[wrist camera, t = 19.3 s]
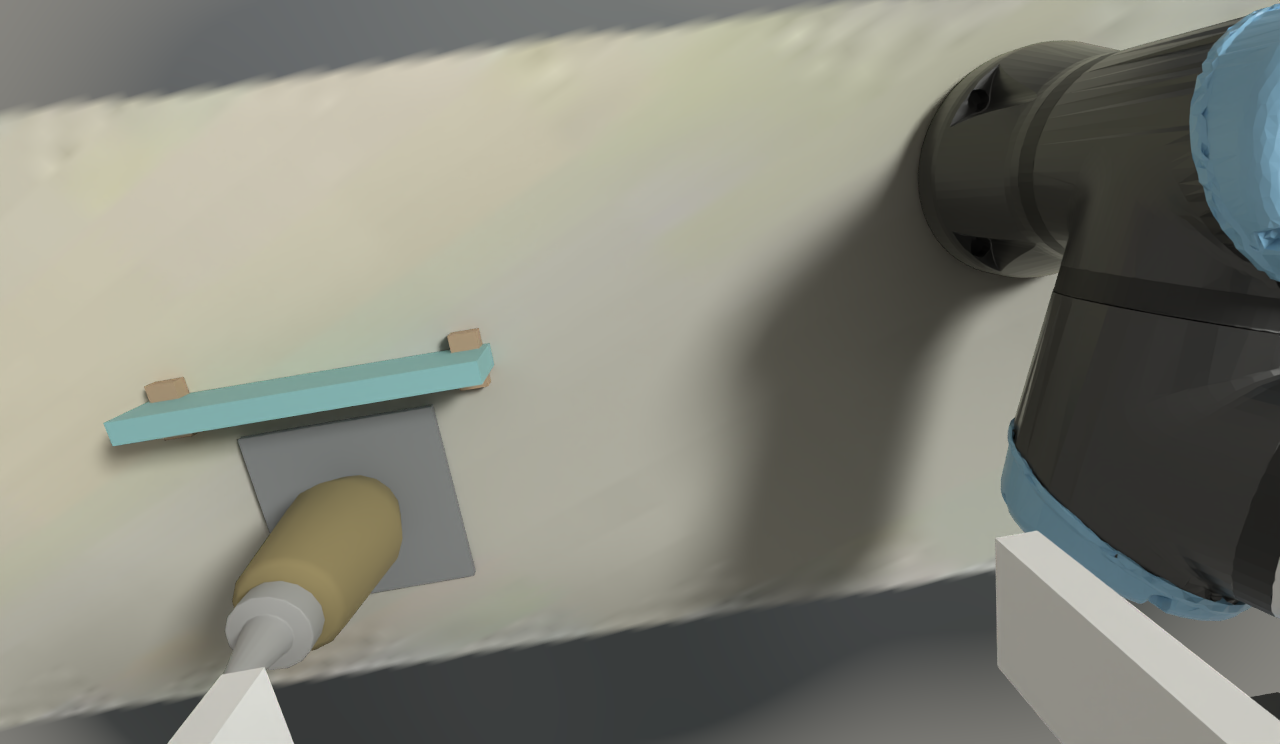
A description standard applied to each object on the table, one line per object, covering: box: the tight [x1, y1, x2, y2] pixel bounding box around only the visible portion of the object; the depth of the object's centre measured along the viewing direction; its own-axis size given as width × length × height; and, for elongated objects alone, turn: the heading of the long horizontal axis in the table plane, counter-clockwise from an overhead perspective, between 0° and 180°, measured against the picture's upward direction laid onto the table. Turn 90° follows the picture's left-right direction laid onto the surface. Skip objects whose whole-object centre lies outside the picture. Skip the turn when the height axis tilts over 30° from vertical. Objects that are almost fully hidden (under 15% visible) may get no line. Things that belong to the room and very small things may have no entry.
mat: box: [238, 405, 476, 593], centre depth 50 cm, size 14×14×1 cm
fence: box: [104, 328, 494, 446], centre depth 45 cm, size 4×24×5 cm, turn 99°
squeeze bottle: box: [223, 475, 403, 674], centre depth 41 cm, size 8×8×18 cm
